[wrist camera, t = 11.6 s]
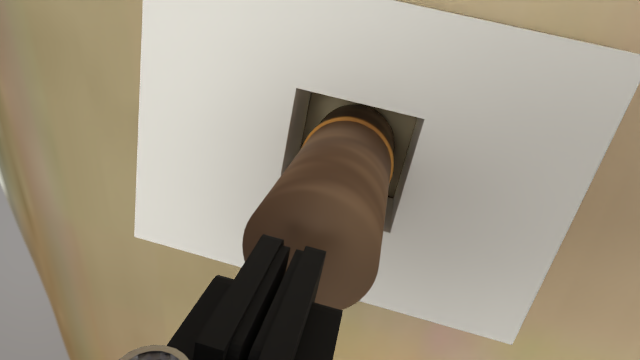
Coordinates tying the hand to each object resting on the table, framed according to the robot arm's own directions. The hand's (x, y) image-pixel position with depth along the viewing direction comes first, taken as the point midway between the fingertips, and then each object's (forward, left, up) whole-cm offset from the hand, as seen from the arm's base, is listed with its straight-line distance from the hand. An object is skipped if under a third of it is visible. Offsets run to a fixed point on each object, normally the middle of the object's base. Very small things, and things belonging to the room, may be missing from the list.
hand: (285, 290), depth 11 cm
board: (0, 0, -14) cm, 14 cm away
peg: (0, 0, -14) cm, 14 cm away
